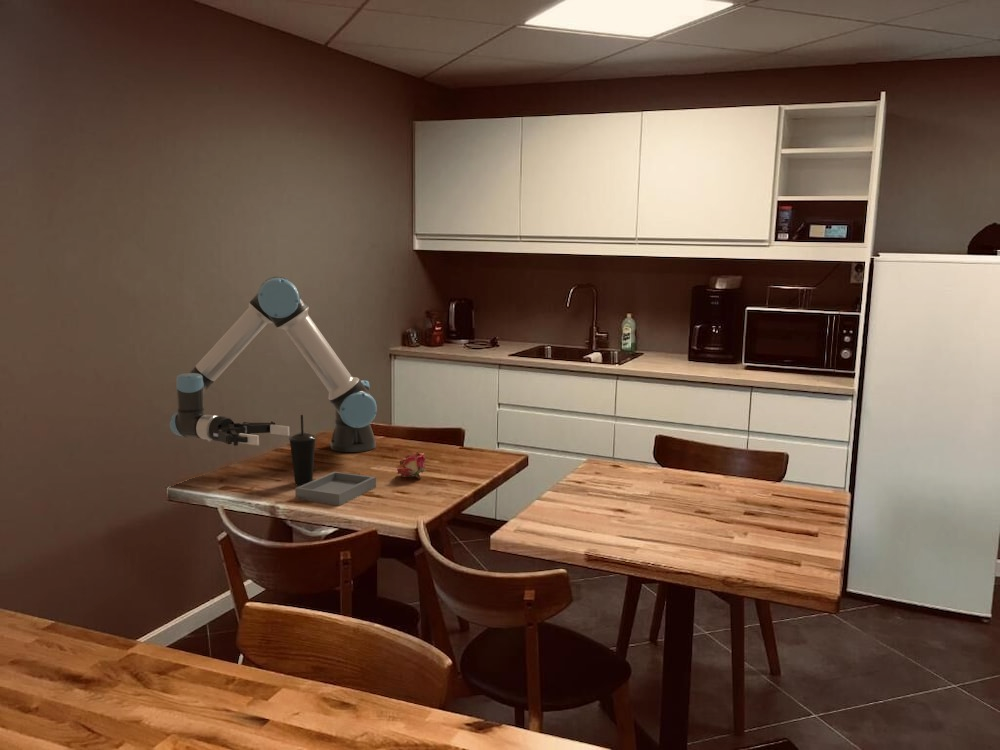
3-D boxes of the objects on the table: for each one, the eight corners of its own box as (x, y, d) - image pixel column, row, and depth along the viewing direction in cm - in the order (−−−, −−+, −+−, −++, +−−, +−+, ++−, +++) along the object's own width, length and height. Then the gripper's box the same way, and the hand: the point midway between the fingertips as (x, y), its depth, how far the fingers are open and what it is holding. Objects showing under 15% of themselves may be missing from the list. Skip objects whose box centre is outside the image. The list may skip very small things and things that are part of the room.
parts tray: (334, 481, 230) (334, 471, 230) (376, 487, 225) (375, 477, 224) (295, 498, 214) (295, 488, 213) (339, 505, 209) (339, 494, 208)
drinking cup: (310, 487, 224) (308, 418, 221) (285, 486, 226) (283, 417, 223) (321, 480, 231) (320, 413, 228) (297, 478, 233) (295, 411, 230)
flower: (438, 471, 236) (427, 447, 238) (422, 472, 227) (411, 448, 230) (413, 486, 239) (402, 462, 241) (397, 488, 231) (386, 463, 233)
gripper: (245, 432, 250) (300, 439, 242) (185, 449, 228) (244, 458, 219) (244, 409, 249) (300, 415, 241) (184, 423, 226) (243, 431, 218)
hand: (273, 435), depth 230 cm, fingers open, 13 cm apart
